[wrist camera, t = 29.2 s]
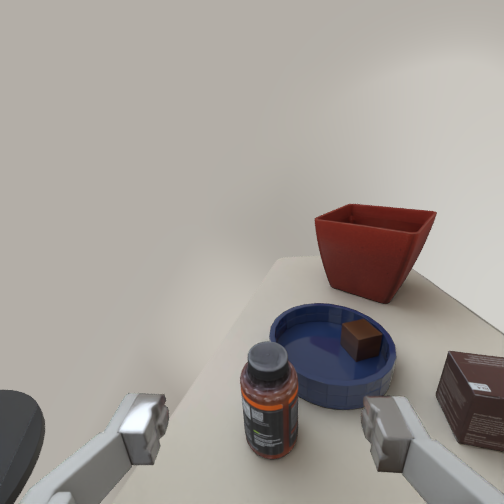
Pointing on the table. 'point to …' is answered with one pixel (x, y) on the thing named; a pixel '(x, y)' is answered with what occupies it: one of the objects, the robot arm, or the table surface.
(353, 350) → the block
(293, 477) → the table surface
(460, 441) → the box
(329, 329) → the bowl
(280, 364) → the supplement bottle
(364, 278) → the flower pot
